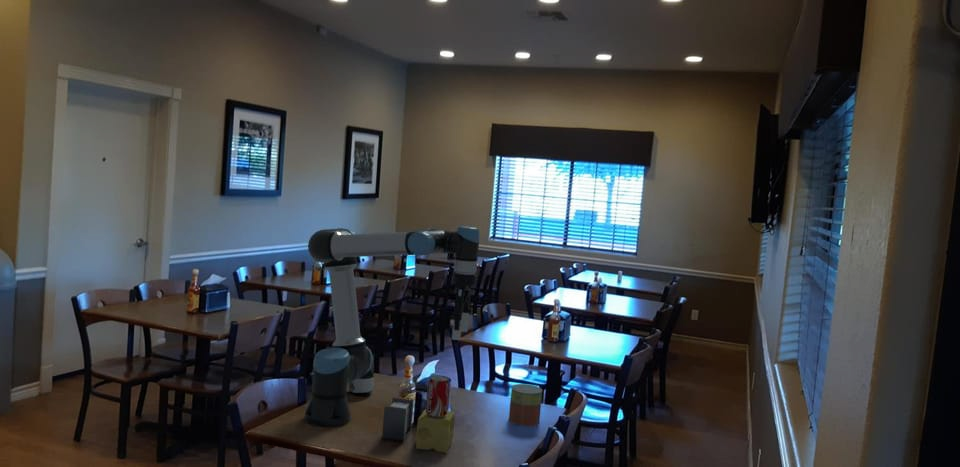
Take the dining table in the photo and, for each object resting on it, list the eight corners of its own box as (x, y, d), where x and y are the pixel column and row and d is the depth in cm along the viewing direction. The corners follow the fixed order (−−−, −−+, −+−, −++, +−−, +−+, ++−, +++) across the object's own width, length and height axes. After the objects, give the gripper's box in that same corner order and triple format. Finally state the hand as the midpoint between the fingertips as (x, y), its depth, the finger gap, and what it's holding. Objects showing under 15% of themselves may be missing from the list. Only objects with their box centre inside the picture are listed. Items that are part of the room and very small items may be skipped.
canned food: (532, 415, 257) (535, 383, 256) (544, 426, 246) (547, 393, 245) (504, 416, 253) (507, 384, 252) (514, 427, 242) (517, 393, 242)
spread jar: (376, 395, 265) (378, 365, 264) (351, 400, 257) (354, 369, 256) (357, 386, 273) (359, 358, 272) (333, 391, 265) (335, 361, 264)
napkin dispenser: (403, 442, 219) (405, 409, 218) (381, 439, 220) (384, 406, 219) (411, 432, 229) (413, 399, 228) (390, 429, 230) (393, 397, 229)
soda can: (443, 420, 214) (446, 382, 214) (422, 416, 216) (425, 378, 215) (450, 413, 221) (453, 376, 220) (429, 409, 223) (432, 373, 222)
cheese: (447, 453, 214) (449, 422, 213) (413, 449, 215) (415, 417, 214) (453, 441, 224) (455, 411, 223) (421, 437, 225) (423, 407, 225)
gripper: (469, 278, 217) (464, 344, 219) (481, 269, 242) (476, 329, 243) (446, 276, 218) (441, 341, 220) (460, 267, 243) (455, 327, 245)
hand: (459, 335), depth 232 cm, fingers open, 13 cm apart
